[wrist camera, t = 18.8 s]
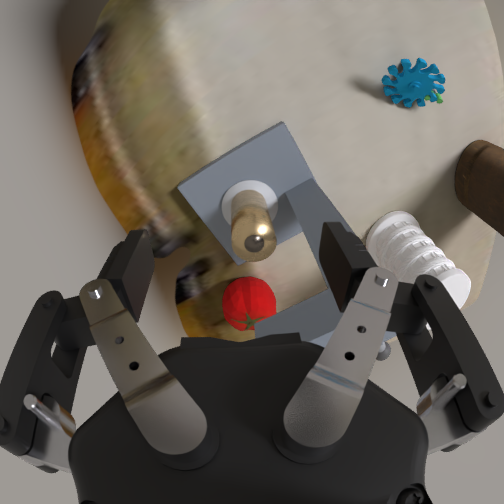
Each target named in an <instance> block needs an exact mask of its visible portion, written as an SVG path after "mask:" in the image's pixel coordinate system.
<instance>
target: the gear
mask: <svg viewBox="0 0 504 504" xmlns="http://www.w3.org/2000/svg"><path fill="white" fill-rule="evenodd" d="M401 64H402V66H403V72H402V73H398V70H397V68H396V66H395V65H392V66H390V67H388V71H389V73H390V74H391V75H393V76H395V77H396V78H397V79H396V80H394V81H392V80H390V78H389V76H387V75H384V76H383V78H382V83H383V84H384V85H391V86H394V87H396V88H390V87H388V86H385V87H384V92H385V95H386V96H390V95H392V94H400V95H392V96H391V98H392V101H393V102H394V103H395V104H398V103H399V102H400V101H401V100H403V99H404V100H403V104H404V106H406V107H409V108H410V107H411V106H412V103H413V101H414V100H416V99H417V98H419V99H417V104H418V106H420V107H422V106H425V102H424V99H425V100H430V101H431V102H434V101H437V103H442V102H443V100H442V98H441V96H440V94H442V93H443V92H444V91H445V89H444V87H443V85H439V84H435V83H433V82H434V81H438V82H439V83H441V84H444V83H445V77H444V75H443V74H438V73H439V70H438V68H437V66H436V65H435V64H431V65H430V66H429V67H428V68H426V69H423V70H420V69H422V68H425V67H427V63H426V61H425V60H423V59H421V58H418V59H417V62H416V65H415V66H414V67H413V68H412V69H411V68H410V67H411V62H410V60H409V59H401ZM430 73H433V74H438V75H429V74H430ZM434 89H437V92H438V93H436V94H435V90H434ZM406 98H408V99H406Z"/></svg>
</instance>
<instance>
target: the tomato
mask: <svg viewBox="0 0 504 504" xmlns="http://www.w3.org/2000/svg"><path fill="white" fill-rule="evenodd" d="M222 307H223V313H224V317H225V319H226V320H227V322H228V323H229V324H231V325H232V326H233V327H234V328H235V329H238V330H240V331H245V330H255V328H254V324H255V323H257V322H259V321H262V320H264V319H266V318H268V317H270V316H273V315H275V314H276V299H275V296H274V293H273V291H272V290H271V288H270V287H269V285H268V284H267V283H266V282H264V281H263V280H261V279H258V278H254V277H251V276H250V277H243V278H238V279H236V280H235V281H233V282H232V283H230V284H229V285H228V286H227V288H226V290H225V291H224V295H223V299H222Z"/></svg>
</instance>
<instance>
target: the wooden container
mask: <svg viewBox="0 0 504 504" xmlns="http://www.w3.org/2000/svg"><path fill="white" fill-rule="evenodd" d="M455 189H456V194H457V197H458V199H459V201H460V202H461V203H462V204H463V205H464V206H465V207H467V208H468V209H469V210H470V211H472V212H473V213H474V214H476V215H477V216H478V217H479V218H481V219H482V220H483V221H484V222H486V223H487V224H488V225H490V226H491V227H492V228H494V229H495V230H496V231H498V232H499V233H500V234H501V235H502V236H504V149H503V148H501V147H498V146H496V145H494V144H492V143H489V142H487V141H484V140H477V141H475V142H473V143H471V144H470V145H469V146H468V147H467V148H466V149H465V150H464V152H463V154H462V155H461V158H460V160H459V162H458V166H457V169H456V175H455Z"/></svg>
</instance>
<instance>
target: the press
mask: <svg viewBox="0 0 504 504" xmlns="http://www.w3.org/2000/svg"><path fill="white" fill-rule="evenodd" d="M177 188H178V189H179V191H180V192H181V193H182V194H183V196H184V197H185V198H186V200H187V201H188V202H189V204H190V205H191V206H192V207H193V209H194V210H195V211H196V213H197V214H198V215H199V217H200V218H201V219H202V220H203V222H204V223H205V224H206V226H207V227H208V228H209V229H210V231H211V232H212V233H213V235H214V236H215V237H216V238H217V240H218V241H219V242H220V243H221V245H222V246H223V247H224V249H225V250H226V251H227V252H228V254H229V255H230V256H231V257H232V259H233V260H234V261H235V262H236V264H237V265H240V264H242V263H244V262H246V261H245V260H243V259H241V258H239V257H238V256H237V255H236V254H235V253H234V251H233V249H232V240H231V202H232V200H233V198H234V196H235V195H236V194H237V193H239V192H241V191H243V190H255V191H257V192H259V193H261V194H262V195H263V197H264V198H265V200H266V204H267V207H268V210H269V214H270V217H271V221H272V224H273V228H274V231H275V235H276V239H277V244H276V245H278V244H280V243H282V242H284V241H286V240H288V239H289V238H291V237H293V236H295V235H297V234H299V233H301V232H304V234H305V236H306V239H307V241H308V243H309V245H310V248H311V250H312V252H313V254H314V257H315V259H316V261H317V264H318V266H319V268H320V271H321V273H322V275H323V278H324V280H325V282H326V285H327V287H328V289H327V290H325V291H323V292H321V293H319V294H317V295H315V296H313V297H311V298H309V299H306V300H304V301H302V302H300V303H298V304H296V305H294V306H292V307H290V308H288V309H286V310H283V311H281V312H279V313H277V314H275V315H273V316H270V317H268V318H266V319H264V320H262V321H259V322H257V323H255V324H254V328H255V338H260V337H263V336H267V335H270V334H284V333H296V332H299V333H300V337H301V341H307V342H311V343H314V344H317V345H320V346H322V347H324V348H325V347H326V345H327V343H328V341H329V340H330V338H331V336H332V334H333V332H334V331H335V329H336V327H337V325H338V323H339V321H340V319H341V317H342V316H343V314H344V313H340V311H339V309H338V306H337V303H336V301H335V298H334V296H333V293H332V291H331V289H330V286H329V284H328V281H327V279H326V276H325V274H324V272H323V269H322V267H321V264H320V261H319V246H320V240H321V232H322V226H323V223H324V222H341V223H342V225H343V226H344V228H345V229H346V231H347V232H352V233H353V234H355V233H354V232H353V231H352V229H351V228H350V226H349V225H348V224H347V222H346V221H345V220H344V218H343V217H342V216H341V214H340V213H339V212H338V210H337V209H336V208H335V206H334V205H333V204H332V202H331V201H330V200H329V199H328V197H327V196H326V195H325V193H324V192H323V191H322V190H321V188H320V187H319V186H318V184H317V182H316V180H315V178H314V176H313V174H312V172H311V171H310V169H309V167H308V165H307V163H306V161H305V159H304V157H303V155H302V154H301V152H300V150H299V148H298V146H297V144H296V143H295V141H294V139H293V137H292V135H291V134H290V132H289V130H288V128H287V127H286V125H285V123H284V122H282V121H281V122H279V123H277V124H276V125H274V126H272V127H270V128H268V129H266V130H265V131H263V132H261V133H259V134H258V135H256V136H254V137H252V138H251V139H249V140H247V141H245V142H244V143H242V144H240V145H239V146H237V147H235V148H233V149H232V150H230V151H229V152H227V153H225V154H224V155H222V156H220V157H219V158H217V159H216V160H214V161H212V162H211V163H209V164H208V165H206V166H204V167H203V168H201V169H200V170H198V171H197V172H195V173H194V174H192V175H191V176H189V177H188V178H186V179H185V180H183V181H182V182H180V183H179V185H178V187H177ZM395 336H396V333H395V332H389V331H386V332H385V335H384V338H383V341H382V344H381V347H380V349H379V352H378V355H377V358H376V360H380V361H382V360H385V359H387V358H388V357H389V355H390V352H391V348H390V345H389V344H388V343H387V342H385V341H387V340H389V339H391V338H393V337H395Z"/></svg>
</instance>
